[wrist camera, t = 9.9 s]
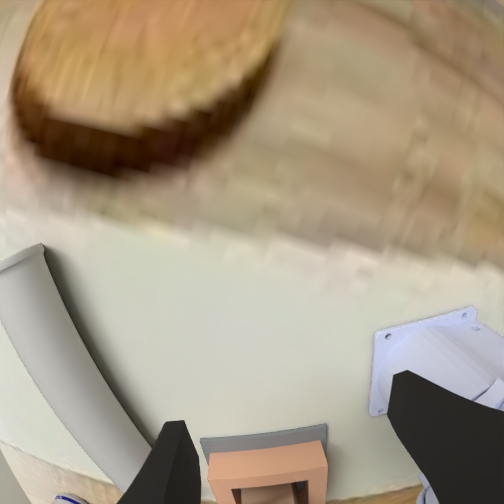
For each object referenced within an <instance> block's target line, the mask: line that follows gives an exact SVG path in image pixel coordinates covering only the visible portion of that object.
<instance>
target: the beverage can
mask: <svg viewBox="0 0 504 504" xmlns="http://www.w3.org/2000/svg"><path fill="white" fill-rule="evenodd" d="M53 504H87V503H86V502H85V501H84V500H82V499H81V498H79V497H77V496H75V495H72V494H69V493H64V494H58V495H57V496H56V498H55V500H54V502H53Z"/></svg>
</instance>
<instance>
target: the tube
mask: <svg viewBox="0 0 504 504" xmlns="http://www.w3.org/2000/svg"><path fill="white" fill-rule="evenodd" d="M44 251H45V250H44V247H43V244H42V243H38V244H35V245H33V246H30V247H28V248H25V249H23V250H20V251H18V252H16V253H14V254H12V255H10V256H8V257H6V258H4V259H2V260H0V321H1V323H2V325H3V327H4V329H5V331H6V333H7V335H8V337H9V339H10V341H11V343H12V345H13V347H14V348H15V350H16V352H17V354H18V356H19V357H20V359H21V361H22V363H23V364H24V366H25V368H26V370H27V371H28V373H29V375H30V376H31V378H32V380H33V381H34V383H35V384H36V386H37V387H38V389H39V391H40V392H41V394H42V395H43V397H44V398H45V400H46V401H47V403H48V404H49V405H50V407H51V408H52V410H53V411H54V413H55V414H56V415H57V417H58V418H59V419H60V421H61V422H62V423H63V425H64V426H65V427H66V429H67V430H68V431H69V433H70V434H71V435H72V436H73V438H74V439H75V440H76V441H77V443H78V444H79V445H80V446H81V447H82V449H83V450H84V451H85V452H86V453H87V455H88V456H89V457H90V458H91V459H92V460H93V461H94V463H95V464H96V465H97V466H98V467H99V468H100V469H101V470H102V471H103V472H104V474H105V475H106V476H107V477H108V478H109V479H110V480H111V481H112V482H113V483H114V484H115V485H116V486H117V487H118V488H119V489H120V490H121V491H122V492H123V493H125V492H126V490H127V489H128V487H129V486H130V484H131V483H132V481H133V480H134V478H135V477H136V475H137V474H138V472H139V471H140V469H141V467H142V465H143V464H144V462H145V460H146V458H147V457H148V455H149V453H150V451H151V449H152V448H151V447H150V445H149V444H148V443H147V442H146V440H145V439H144V438H143V436H142V435H141V433H140V432H139V431H138V429H137V428H136V427H135V425H134V424H133V422H132V421H131V420H130V418H129V417H128V415H127V414H126V412H125V411H124V409H123V408H122V406H121V405H120V403H119V402H118V400H117V399H116V397H115V396H114V394H113V393H112V391H111V390H110V388H109V386H108V385H107V383H106V382H105V380H104V378H103V377H102V375H101V373H100V372H99V370H98V368H97V366H96V365H95V363H94V361H93V360H92V358H91V356H90V354H89V352H88V351H87V349H86V347H85V345H84V343H83V341H82V340H81V338H80V336H79V334H78V332H77V330H76V328H75V326H74V324H73V322H72V320H71V318H70V316H69V314H68V312H67V310H66V307H65V305H64V303H63V301H62V299H61V297H60V294H59V292H58V290H57V288H56V285H55V283H54V281H53V278H52V276H51V273H50V271H49V269H48V266H47V264H46V261H45V258H44V255H43V253H44Z"/></svg>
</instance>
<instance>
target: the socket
mask: <svg viewBox="0 0 504 504" xmlns="http://www.w3.org/2000/svg"><path fill="white" fill-rule="evenodd" d="M200 444H201V447H202V449H203V452H204V455H205V458H206V461H207V463H208V466H209V468H208V482H209V484H210V487H211V489H212V492H213V494H214V496H215V499H216V501H217V503H218V504H242V500H241V488H250V487H261V486H270V485H278V484H285V483H292V482H296V487H297V492H298V497H299V503H300V504H326V491H327V476H328V464H327V460H326V424H320V425H315V426H310V427H304V428H298V429H292V430H285V431H278V432H271V433H263V434H254V435H244V436H232V437H218V438H200Z"/></svg>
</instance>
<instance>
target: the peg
mask: <svg viewBox="0 0 504 504" xmlns="http://www.w3.org/2000/svg"><path fill="white" fill-rule="evenodd" d="M241 500H242V504H300V503H299V497H298V492H297V487H296V482H292V483H285V484H278V485H270V486H261V487H250V488H241Z"/></svg>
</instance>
